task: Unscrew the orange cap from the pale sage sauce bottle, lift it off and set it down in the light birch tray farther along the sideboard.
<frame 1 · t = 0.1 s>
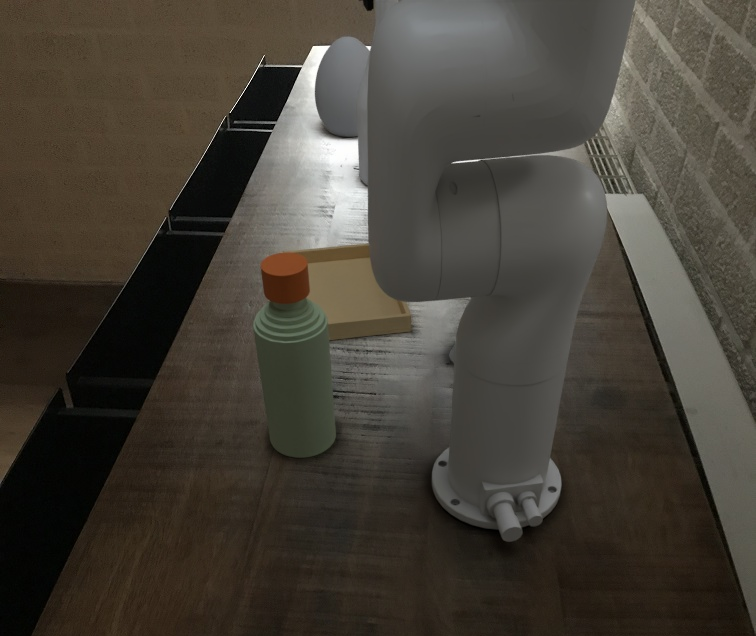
hand: (411, 4, 88), 31 cm above the table, tool pointing down, fingers open, 9 cm apart
wine bottle: (388, 180, 130), on the table
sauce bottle: (303, 436, 84), on the table
decorative egg: (350, 130, 146), on the table
chalice: (470, 357, 94), on the table
tray: (344, 297, 104), on the table
cap: (284, 266, 71), point 20 cm above the table, screwed on, not yet turned
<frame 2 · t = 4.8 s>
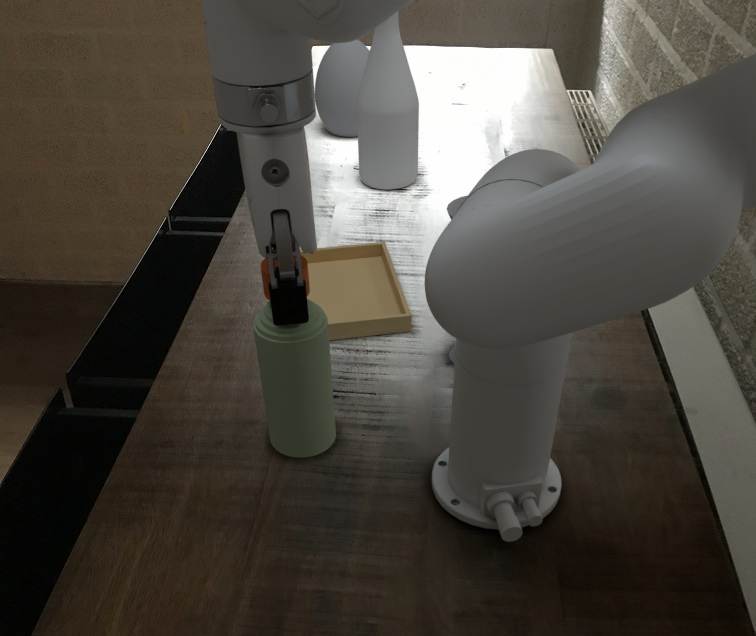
hand: (288, 305, 73), 16 cm above the table, tool pointing down, fingers closed on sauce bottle, 4 cm apart
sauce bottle: (303, 436, 84), on the table, touching gripper
everything else where it was.
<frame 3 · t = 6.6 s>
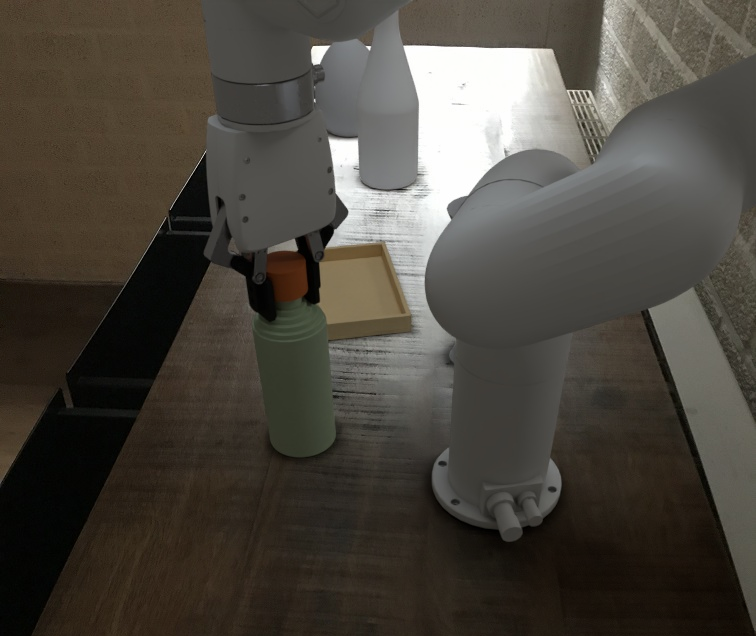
hand: (286, 304, 73), 16 cm above the table, tool pointing down, fingers closed on cap, 4 cm apart
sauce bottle: (303, 435, 84), on the table, touching gripper
cap: (282, 264, 71), point 20 cm above the table, turned 118° so far, risen 0.1 cm, still on its thread, touching gripper
everything else where it was.
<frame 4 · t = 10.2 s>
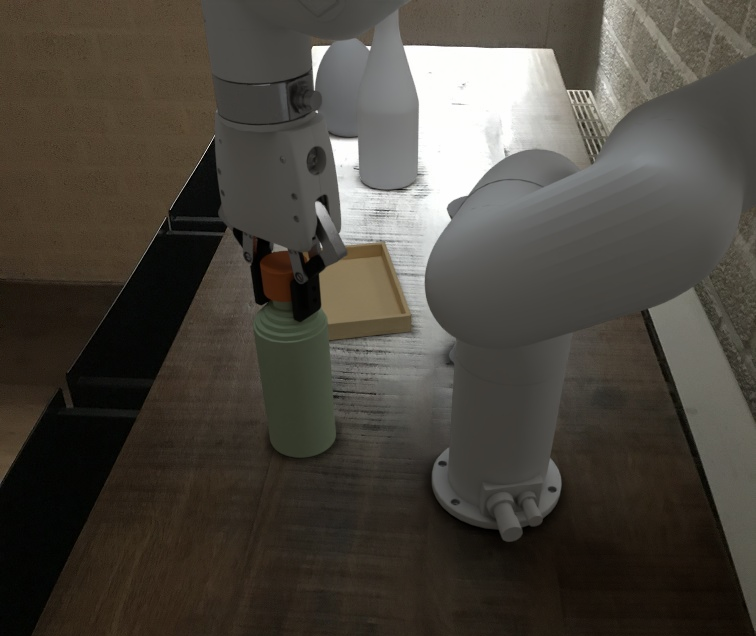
hand: (288, 304, 73), 16 cm above the table, tool pointing down, fingers closed on cap, 4 cm apart
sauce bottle: (303, 435, 84), on the table
cap: (283, 265, 70), point 20 cm above the table, turned 161° so far, risen 0.2 cm, still on its thread, touching gripper
everything else where it was.
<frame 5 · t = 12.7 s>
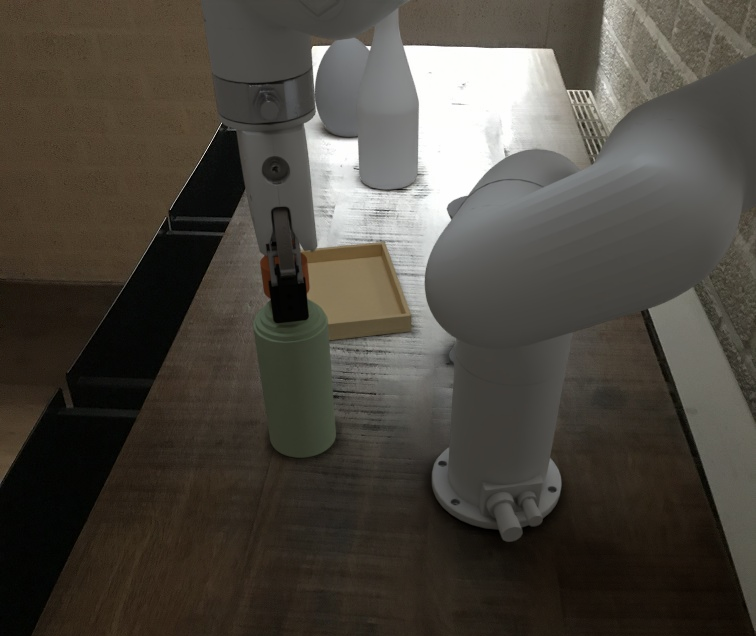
hand: (288, 304, 73), 16 cm above the table, tool pointing down, fingers closed on cap, 4 cm apart
cap: (284, 264, 70), point 20 cm above the table, turned 236° so far, risen 0.2 cm, still on its thread, touching gripper
everything else where it was.
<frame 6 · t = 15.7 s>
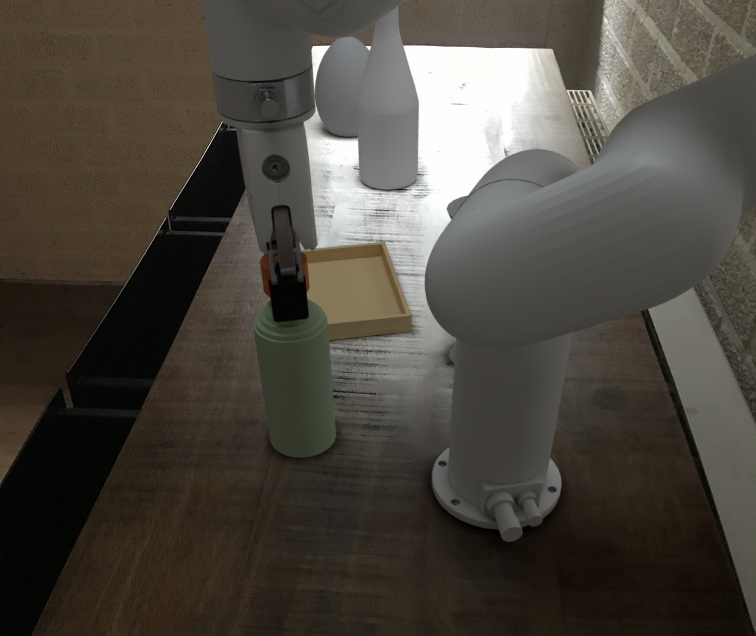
hand: (288, 303, 73), 16 cm above the table, tool pointing down, fingers closed on cap, 4 cm apart
cap: (283, 262, 70), point 20 cm above the table, turned 354° so far, risen 0.4 cm, still on its thread, touching gripper
everything else where it was.
when the fingers open (3 cm above the table, at t = 25.9 s): cap drops 4 cm, resting on tray.
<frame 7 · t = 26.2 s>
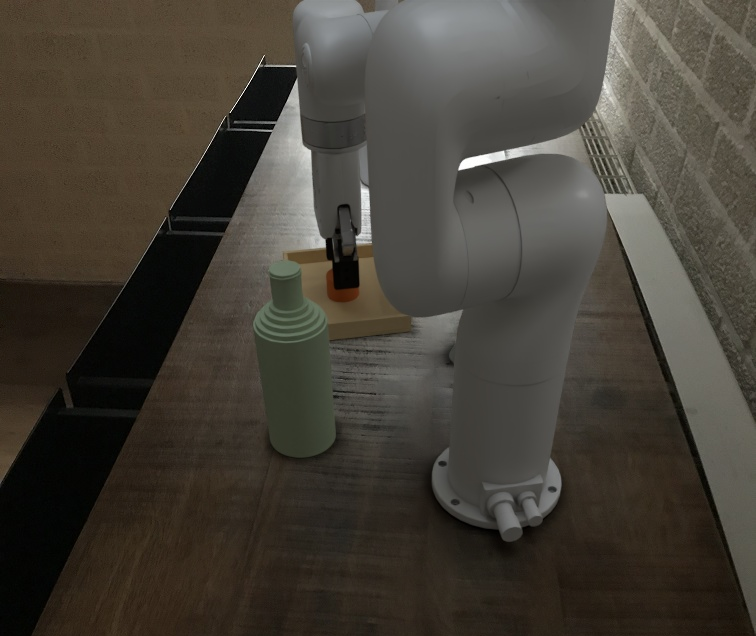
hand: (342, 271, 102), 4 cm above the table, tool pointing down, fingers open, 6 cm apart
cap: (342, 276, 102), point 3 cm above the table, off its thread, touching tray
everything else where it was.
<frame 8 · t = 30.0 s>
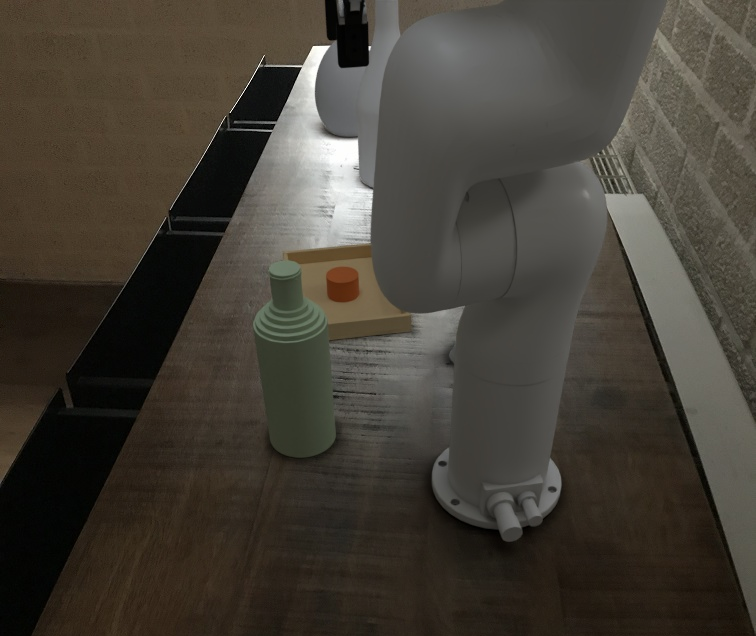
hand: (347, 52, 86), 28 cm above the table, tool pointing down, fingers open, 9 cm apart
nothing on the table moved.
at the end: cap came off its thread; cap inside the target area in the tray (0.1 cm from its centre), point 3.0 cm above the tray's base; the gripper is holding nothing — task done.
